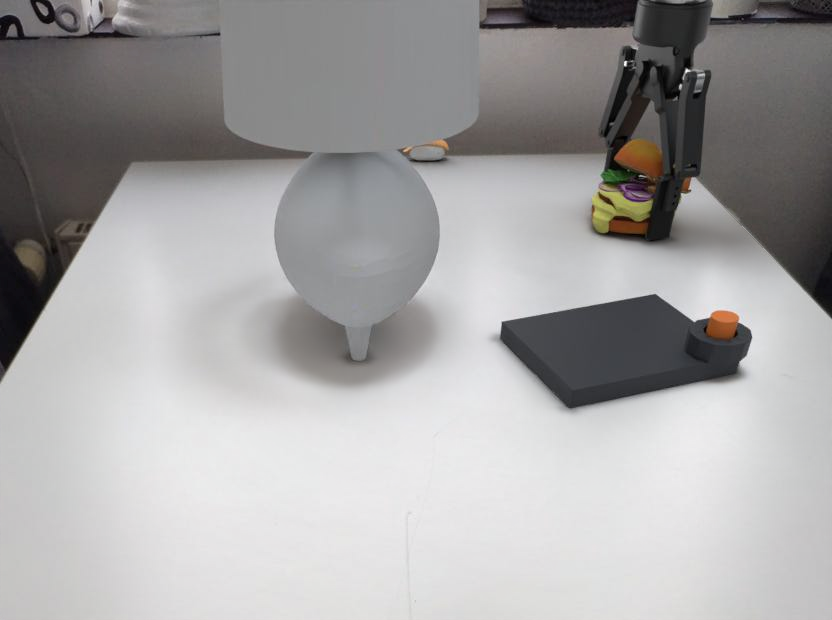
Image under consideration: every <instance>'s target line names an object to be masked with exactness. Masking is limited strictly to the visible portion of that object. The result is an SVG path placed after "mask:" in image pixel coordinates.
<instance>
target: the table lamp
mask: <svg viewBox="0 0 832 620" xmlns="http://www.w3.org/2000/svg"><path fill="white" fill-rule="evenodd" d="M218 11H219V12H218V14H219V33H220V34H219V36H220V55H221V77H222V98H223V117H224V119H223V121H224V124H225V126H226V128H227V129H229V131H231V132H232V133H233V134H235V135H236V136H238V137H239V138H242V139H244V140H248V141H250V142H252V143H255V144H259V145H262V146H266V147H271V148H276V149H283V150H288V151H297V152H307V153H311V154H310V155H309V156H308V157H307V158H306V159H305V160H304V161H303V163H301V165H300V166H299V167H298V169H297V170H296V171H295V172H294V174H293V175H292V177H291V179H290V180H289V182H288V184H287V186H286V187H285V189H284V191H283V194H282V196H281V197H280V200H279V203H278V206H277V209H276V213H275V219H274V225H273V226H274V227H273V228H274V229H273V237H274V247H275V250H276V251H275V252H276V255H277V259H278V262H279V265H280V267H281V270H282V272H283V274H284V276H285V277H286V279H287V281H288V282H289V284H290V285H291V286H292V288H293V289H294V291H295V292H296V293H297V294H298V295H299V296H300V297H301V298H302V299H303V301H305V303H306V304H308V305H309V306H310V307H312V308H313V310H315V311H317V312H318V313H319V314H321V315H322V316H324V317H325V318H327V319H329V320H331V321H333V322H335V323H337V324H339V325H342V326H344V329H345V333H346V337H347V338H346V339H347V343H348V348H349V353H350V356H351V357H350V358H351V359H352V360H353V361H357V362H361V361H362V362H363V361H364V360H366V359H367V354H368V349H369V344H370V337H371V332H372V326H374V325H377V324H379V323H381V322H383V321H384V320H386V319H388V318H390V317H391V316H393V315H394V314H395V313H397V312H399V310H400V309H402V308H403V307H404V306H406V304H407V303H409V302H410V301H411V300H412V299H413V297H415V296H416V294H417V293H418V292H419V291H420V289H421V288H422V287H423V285H424V284H425V282H426V281H427V279H428V277H429V275H430V273H431V271H432V269H433V267H434V264H435V261H436V258H437V255H438V251H439V247H440V237H441V225H440V224H441V223H440V217H439V211H438V208H437V205H436V201H435V199H434V197H433V194H432V193H431V191H430V189H429V187H428V185H427V184H426V182H425V180H424V179H423V177H422V175H421V174H420V173H419V171H418V170H417V169H416V168H415V166H414V165H413V164H412V163H411V161H409V159H408V158H406V157H405V155H404V154H403V153H401V152H400V151H399V150H400V149H407V148H408V147H414V146H419V145H424V144H428V143H432V142H436V141H439V140H446V139H449V138H451V137H454V136H456V135H458V134H460V133H462V132H463V131H466V130H467V129H469V128H470V127H472V126H473V125H474V123H476V122H477V120H478V118H479V116H480V0H218Z"/></svg>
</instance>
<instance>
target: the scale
mask: <svg viewBox="0 0 832 620" xmlns="http://www.w3.org/2000/svg"><path fill="white" fill-rule="evenodd" d="M709 319H710V317H706V318H701V319H697V320H695V321H694V320H692V319H691V318H689V317H688V316H686V314H684V313H683V312H682V311H680V310H678V309H677V308H676V307H674V306H673V305H672V304H670V303H669V302H667V300H665V299H663V298H662V297H661V296H659V295H658V294H656V293H653V294H647V295H642V296H636V297H630V298H625V299H621V300H620V299H619V300H614V301H607V302H603V303H597V304H592V305H586V306H580V307H576V308H570V309H565V310H559V311H553V312H548V313H547V312H546V313H543V314H542V313H541V314H536V315H531V316H526V317H519V318H514V319H508V320H504V321H503V320H502V321H501V324H500V325H501V326H500V335H499V339H500V340H501V341H502V342H503V343H504V344H505V345H507V347H508V348H509V349H510V350H511V351H512V352H513V353H514V354H515V355H517V357H518V358H519V359H520V360H522V362H523V363H525V365H527V367H529V369H530V370H531V371H532V372H533V373H534V374H535V375H536V376H537V377H538V378H539V379H541V381H542V382H543V383H544V384H545V385H546V386H547V387H549V388H550V390H551V391H552V392H553V393H554V394H555V395H556V396H557V397H558V398H559V399H561V400H562V402H563V403H564V404H565V405H567V407H569V408H571V409H572V408H576V407H580V406H585V405H591V404H595V403H599V402H604V401H609V400H614V399H619V398H623V397H628V396H633V395H639V394H642V393H647V392H653V391H657V390H662V389H667V388H673V387H676V386H681V385H687V384H691V383H696V382H700V381H701V382H702V381H707V380H710V379H714V378H721V377H724V376H729V375H735V374H737V372H738V370H739V367H740V366H739V365H740V362H741V361H743V359H745V358H746V357H747V355H748V353H749V350H750V346H751V344H752V341H753V334H752V330H751V329H750V328H749V327H747V326H746V325H744V324H743V323H741V322H738V324H737V328H736V331H735V334H734V337H733V338H731V339H717V338H714V337H710V336H708V335H707V334H706V330H707V327H708V323H709Z"/></svg>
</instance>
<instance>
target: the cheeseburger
mask: <svg viewBox="0 0 832 620" xmlns="http://www.w3.org/2000/svg"><path fill="white" fill-rule="evenodd" d="M631 140H632V141H630V142H628V143H627V144H626V145H625V146H624V147H622V148H621V149H620V151H619V152H618V153H617V155H616V156H615V158H614V160H615V161H616V162H617V163H618V164H619V165H621V166H622V167H623V168H624V169H626V170H628V171H626V170H623V171H621V170H617V171H613V170H611V169H609V170H608V172H609V173H608V172H605V171H604V170H603V171H602V172H601V174H600V178H602V181H601V182H600V183H598V185H597V189H598V190H597V192H596V193H595V194H594V195H593V196H592V197H591V203H592V205H591V211H590V212H591V214H590V216H591V221H592V225H593V228H594V229H595V230H596V231H597V233H599V234H606V233H608V232H612V233H621V234H636V235H646V232H647V228H648V223H649V218H650V213H651V208H652V203H653V198H654V194H655V189H656V184H657V179H658V177H659V176H662V175H663V161H662V150H660V148H659V146H658V145H657V144H656V143H654V142H653V141H650V140H647V139H643V138H636V139H631ZM689 165H690V164H689ZM673 168H675V164H674V166H673ZM603 179H605V180H604V181H603ZM691 182H692V178H686V179H685V180H684V183H683V187H682V191H681V195H680V200H679V204H680V203H681V202H682V194H684V195H687V194H690V193H692V189H690V185H691ZM677 210H678V208H677V209H676V210H675V213H674V217H675V216H676V213H677Z"/></svg>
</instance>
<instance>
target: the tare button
mask: <svg viewBox="0 0 832 620" xmlns="http://www.w3.org/2000/svg"><path fill="white" fill-rule="evenodd" d="M709 318H710V319H709V323H708V327H707V330H706V334H707V335H708V336H710V337H714V338H717V339H731V338H733V337H734V334H735V331H736V328H737V324H738V323H739V321H740V316H739V315H738V314H737V313H735V312H734V311H730V310H721V309H720V310H714V311H712V312H711V314H710V316H709Z"/></svg>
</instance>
